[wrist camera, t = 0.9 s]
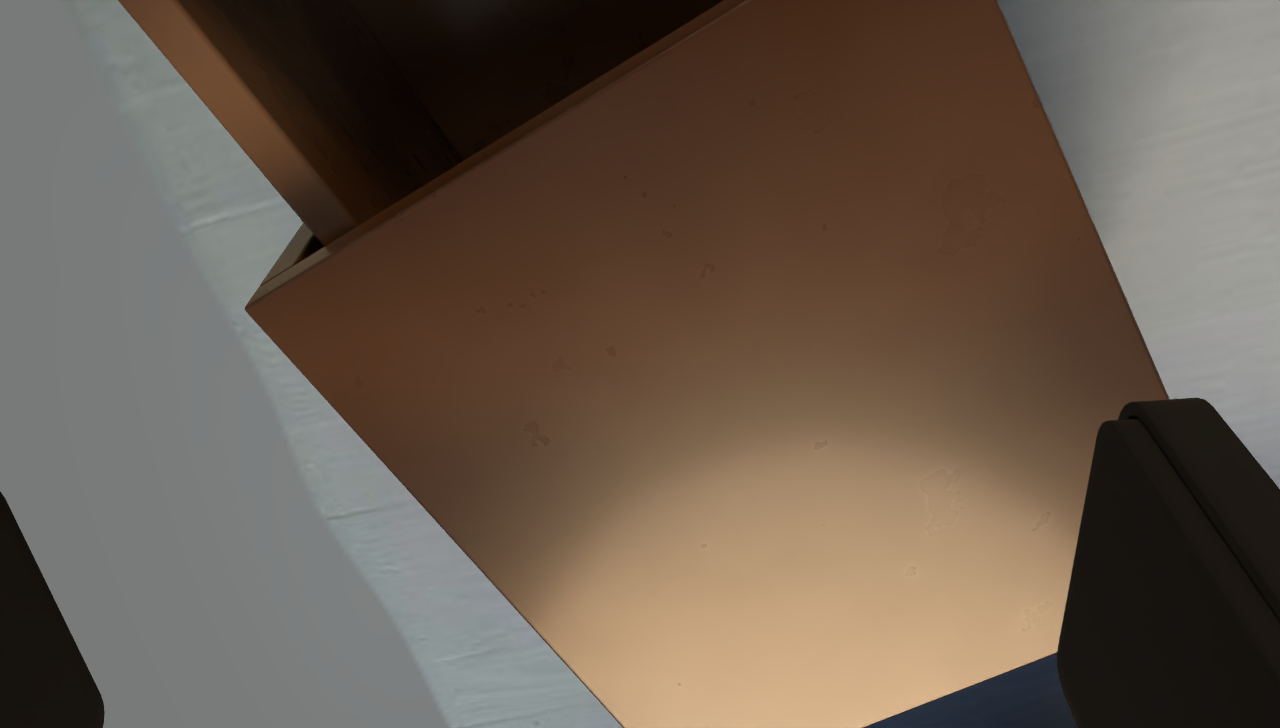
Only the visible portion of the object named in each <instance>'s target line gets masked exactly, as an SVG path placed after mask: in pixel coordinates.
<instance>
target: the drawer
mask: <svg viewBox="0 0 1280 728" xmlns="http://www.w3.org/2000/svg"><path fill="white" fill-rule="evenodd" d="M118 1H119V2H120V3H121V4H122V5H123V7H124V8H125V9H126V10H127V11H128V13H129V14H130V15H131V16H132V17H133V19H134V20H135V21H136V22H137V23H138V25H139V26H140V27H141V28H142V29H143V31H144V32H145V33H146V34H147V35H148V37H149V38H150V39H151V40H152V41H153V43H154V44H155V45H156V46H157V47H158V49H159V50H160V51H161V52H162V53H163V55H164V56H165V57H166V58H167V59H168V60H169V62H170V63H171V64H172V65H173V66H174V68H175V69H176V70H177V71H178V72H179V74H180V75H181V76H182V77H183V78H184V80H185V81H186V82H187V83H188V84H189V86H190V87H191V88H192V89H193V90H194V92H195V93H196V94H197V95H198V96H199V98H200V99H201V100H202V101H203V102H204V104H205V105H206V106H207V107H208V108H209V110H210V111H211V112H212V113H213V114H214V116H215V117H216V118H217V119H218V120H219V122H220V123H221V124H222V125H223V126H224V128H225V129H226V130H227V131H228V132H229V134H230V135H231V136H232V137H233V138H234V140H235V141H236V142H237V143H238V144H239V145H240V147H241V148H242V149H243V150H244V151H245V153H246V154H247V155H248V156H249V157H250V159H251V160H252V161H253V162H254V163H255V165H256V166H257V167H258V168H259V169H260V171H261V172H262V173H263V174H264V175H265V177H266V178H267V179H268V180H269V181H270V183H271V184H272V185H273V186H274V187H275V189H276V190H277V191H278V192H279V193H280V195H281V196H282V197H283V198H284V199H285V201H286V202H287V203H288V204H289V205H290V207H291V208H292V209H293V210H294V211H295V213H296V214H297V215H298V216H299V217H300V219H301V220H302V221H303V222H304V223H305V225H306V226H307V227H308V228H309V229H310V230H311V232H312V233H313V234H314V235H315V236H316V238H317V239H318V240H319V241H320V242H321V244H322V245H323V246H324V247H325V246H327V245H328V244H330V243H332V242H333V241H335V240H336V239H338V238H340V237H341V236H343V235H345V234H346V233H348V232H349V231H351V230H353V229H354V228H356V227H358V226H359V225H361V224H362V223H364V222H366V221H367V220H369V219H370V218H372V217H374V216H375V215H377V214H379V213H380V212H382V211H383V210H385V209H387V208H388V207H390V206H392V205H393V204H395V203H396V202H398V201H400V200H401V199H403V198H405V197H406V196H408V195H409V194H411V193H413V192H414V191H416V190H417V189H419V188H421V187H422V186H424V185H426V184H427V183H429V182H430V181H432V180H434V179H435V178H437V177H439V176H440V175H442V174H443V173H445V172H447V171H448V170H450V169H452V168H453V167H455V166H456V165H458V164H460V163H461V162H463V161H464V160H466V159H468V158H469V157H471V156H473V155H474V154H476V153H477V152H479V151H481V150H482V149H484V148H486V147H487V146H489V145H490V144H492V143H494V142H495V141H497V140H499V139H500V138H502V137H503V136H505V135H507V134H508V133H510V132H511V131H513V130H515V129H516V128H518V127H520V126H521V125H523V124H524V123H526V122H528V121H529V120H531V119H533V118H534V117H536V116H537V115H539V114H541V113H542V112H544V111H546V110H547V109H549V108H550V107H552V106H554V105H555V104H557V103H558V102H560V101H562V100H563V99H565V98H567V97H568V96H570V95H571V94H573V93H575V92H576V91H578V90H580V89H581V88H583V87H584V86H586V85H588V84H589V83H591V82H593V81H594V80H596V79H597V78H599V77H601V76H602V75H604V74H605V73H607V72H609V71H610V70H612V69H614V68H615V67H617V66H618V65H620V64H622V63H623V62H625V61H627V60H628V59H630V58H631V57H633V56H635V55H636V54H638V53H640V52H641V51H643V50H644V49H646V48H648V47H649V46H651V45H652V44H654V43H656V42H657V41H659V40H661V39H662V38H664V37H665V36H667V35H669V34H670V33H672V32H674V31H675V30H677V29H678V28H680V27H682V26H683V25H685V24H686V23H688V22H690V21H691V20H693V19H695V18H696V17H698V16H699V15H701V14H703V13H704V12H706V11H708V10H709V9H711V8H712V7H714V6H716V5H717V4H719V3H721V2H722V1H724V0H118Z"/></svg>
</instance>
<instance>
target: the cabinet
mask: <svg viewBox="0 0 1280 728" xmlns="http://www.w3.org/2000/svg"><path fill="white" fill-rule="evenodd" d="M245 310H246V312H247V313H248V314H249V315H250V316H251V317H252V318H253V320H254V321H255V322H256V323H257V324H258V325H259V326H260V327H261V328H262V330H263V331H264V332H265V333H266V334H267V335H268V336H269V337H270V338H271V339H272V341H273V342H274V343H275V344H276V345H277V346H278V347H279V348H280V349H281V350H282V352H283V353H284V354H285V355H286V356H287V357H288V358H289V359H290V360H291V362H292V363H293V364H294V365H295V366H296V367H297V368H298V369H299V370H300V371H301V373H302V374H303V375H304V376H305V377H306V378H307V379H308V380H309V381H310V382H311V384H312V385H313V386H314V387H315V388H316V389H317V390H318V391H319V392H320V394H321V395H322V396H323V397H324V398H325V399H326V400H327V401H328V402H329V403H330V405H331V406H332V407H333V408H334V409H335V410H336V411H337V412H338V413H339V415H340V416H341V417H342V418H343V419H344V420H345V421H346V422H347V423H348V424H349V426H350V427H351V428H352V429H353V430H354V431H355V432H356V433H357V434H358V435H359V437H360V438H361V439H362V440H363V441H364V442H365V443H366V444H367V445H368V447H369V448H370V449H371V450H372V451H373V452H374V453H375V454H376V455H377V456H378V458H379V459H380V460H381V461H382V462H383V463H384V464H385V465H386V466H387V467H388V469H389V470H390V471H391V472H392V473H393V474H394V475H395V476H396V477H397V479H398V480H399V481H400V482H401V483H402V484H403V485H404V486H405V487H406V488H407V490H408V491H409V492H410V493H411V494H412V495H413V496H414V497H415V498H416V500H417V501H418V502H419V503H420V504H421V505H422V506H423V507H424V508H425V509H426V511H427V512H428V513H429V514H430V515H431V516H432V517H433V518H434V519H435V520H436V522H437V523H438V524H439V525H440V526H441V527H442V528H443V529H444V530H445V532H446V533H447V534H448V535H449V536H450V537H451V538H452V539H453V540H454V541H455V543H456V544H457V545H458V546H459V547H460V548H461V549H462V550H463V551H464V552H465V554H466V555H467V556H468V557H469V558H470V559H471V560H472V561H473V562H474V564H475V565H476V566H477V567H478V568H479V569H480V570H481V571H482V572H483V573H484V575H485V576H486V577H487V578H488V579H489V580H490V581H491V582H492V583H493V585H494V586H495V587H496V588H497V589H498V590H499V591H500V592H501V593H502V594H503V596H504V597H505V598H506V599H507V600H508V601H509V602H510V603H511V604H512V605H513V607H514V608H515V609H516V610H517V611H518V612H519V613H520V614H521V615H522V617H523V618H524V619H525V620H526V621H527V622H528V623H529V624H530V625H531V626H532V628H533V629H534V630H535V631H536V632H537V633H538V634H539V635H540V636H541V637H542V639H543V640H544V641H545V642H546V643H547V644H548V645H549V646H550V647H551V649H552V650H553V651H554V652H555V653H556V654H557V655H558V656H559V657H560V658H561V660H562V661H563V662H564V663H565V664H566V665H567V666H568V667H569V668H570V670H571V671H572V672H573V673H574V674H575V675H576V676H577V677H578V678H579V679H580V681H581V682H582V683H583V684H584V685H585V686H586V687H587V688H588V689H589V690H590V692H591V693H592V694H593V695H594V696H595V697H596V698H597V699H598V700H599V702H600V703H601V704H602V705H603V706H604V707H605V708H606V709H607V710H608V711H609V713H610V714H611V715H612V716H613V717H614V718H615V719H616V720H617V721H618V723H619V724H620V725H621V726H622V727H623V728H864V727H867V726H869V725H872V724H874V723H877V722H879V721H882V720H885V719H887V718H890V717H892V716H895V715H898V714H900V713H903V712H905V711H908V710H911V709H913V708H916V707H918V706H921V705H923V704H926V703H929V702H931V701H934V700H936V699H939V698H942V697H944V696H947V695H949V694H952V693H955V692H957V691H960V690H962V689H965V688H967V687H970V686H973V685H975V684H978V683H980V682H983V681H986V680H988V679H991V678H993V677H996V676H999V675H1001V674H1004V673H1006V672H1009V671H1011V670H1014V669H1017V668H1019V667H1022V666H1024V665H1027V664H1030V663H1032V662H1035V661H1037V660H1040V659H1042V658H1045V657H1048V656H1050V655H1053V654H1055V653H1057V651H1058V644H1059V638H1060V633H1061V627H1062V622H1063V617H1064V611H1065V606H1066V600H1067V595H1068V589H1069V584H1070V579H1071V573H1072V568H1073V562H1074V557H1075V551H1076V546H1077V540H1078V535H1079V530H1080V524H1081V519H1082V513H1083V508H1084V502H1085V497H1086V492H1087V486H1088V481H1089V475H1090V470H1091V464H1092V459H1093V454H1094V448H1095V443H1096V437H1097V434H1098V430H1099V428H1100V426H1101V425H1102V423H1103V422H1105V421H1111V420H1118V418H1119V415H1120V412H1121V410H1122V409H1123V407H1124V406H1125V405H1126V404H1128V403H1130V402H1136V401H1153V400H1170V399H1169V397H1168V394H1167V392H1166V390H1165V387H1164V385H1163V383H1162V381H1161V378H1160V376H1159V374H1158V371H1157V369H1156V367H1155V364H1154V362H1153V360H1152V357H1151V355H1150V353H1149V350H1148V348H1147V346H1146V344H1145V341H1144V339H1143V337H1142V334H1141V332H1140V330H1139V327H1138V325H1137V323H1136V320H1135V318H1134V316H1133V313H1132V311H1131V309H1130V307H1129V304H1128V302H1127V300H1126V297H1125V295H1124V293H1123V290H1122V288H1121V286H1120V283H1119V281H1118V279H1117V276H1116V274H1115V272H1114V270H1113V267H1112V265H1111V263H1110V260H1109V258H1108V256H1107V253H1106V251H1105V249H1104V246H1103V244H1102V242H1101V239H1100V237H1099V235H1098V233H1097V230H1096V228H1095V226H1094V223H1093V221H1092V219H1091V216H1090V214H1089V212H1088V209H1087V207H1086V205H1085V202H1084V200H1083V198H1082V196H1081V193H1080V191H1079V189H1078V186H1077V184H1076V182H1075V179H1074V177H1073V175H1072V172H1071V170H1070V168H1069V165H1068V163H1067V161H1066V159H1065V156H1064V154H1063V152H1062V149H1061V147H1060V145H1059V142H1058V140H1057V138H1056V135H1055V133H1054V131H1053V128H1052V126H1051V124H1050V122H1049V119H1048V117H1047V115H1046V112H1045V110H1044V108H1043V105H1042V103H1041V101H1040V98H1039V96H1038V94H1037V91H1036V89H1035V87H1034V85H1033V82H1032V80H1031V78H1030V75H1029V73H1028V71H1027V68H1026V66H1025V64H1024V61H1023V59H1022V57H1021V54H1020V52H1019V50H1018V48H1017V45H1016V43H1015V41H1014V38H1013V36H1012V34H1011V31H1010V29H1009V27H1008V24H1007V22H1006V20H1005V17H1004V15H1003V13H1002V11H1001V8H1000V6H999V4H998V1H997V0H724V1H722V2H721V3H719V4H717V5H716V6H714V7H712V8H711V9H709V10H708V11H706V12H704V13H703V14H701V15H699V16H698V17H696V18H695V19H693V20H691V21H690V22H688V23H686V24H685V25H683V26H682V27H680V28H678V29H677V30H675V31H674V32H672V33H670V34H669V35H667V36H665V37H664V38H662V39H661V40H659V41H657V42H656V43H654V44H652V45H651V46H649V47H648V48H646V49H644V50H643V51H641V52H640V53H638V54H636V55H635V56H633V57H631V58H630V59H628V60H627V61H625V62H623V63H622V64H620V65H618V66H617V67H615V68H614V69H612V70H610V71H609V72H607V73H605V74H604V75H602V76H601V77H599V78H597V79H596V80H594V81H593V82H591V83H589V84H588V85H586V86H584V87H583V88H581V89H580V90H578V91H576V92H575V93H573V94H571V95H570V96H568V97H567V98H565V99H563V100H562V101H560V102H558V103H557V104H555V105H554V106H552V107H550V108H549V109H547V110H546V111H544V112H542V113H541V114H539V115H537V116H536V117H534V118H533V119H531V120H529V121H528V122H526V123H524V124H523V125H521V126H520V127H518V128H516V129H515V130H513V131H511V132H510V133H508V134H507V135H505V136H503V137H502V138H500V139H499V140H497V141H495V142H494V143H492V144H490V145H489V146H487V147H486V148H484V149H482V150H481V151H479V152H477V153H476V154H474V155H473V156H471V157H469V158H468V159H466V160H464V161H463V162H461V163H460V164H458V165H456V166H455V167H453V168H452V169H450V170H448V171H447V172H445V173H443V174H442V175H440V176H439V177H437V178H435V179H434V180H432V181H430V182H429V183H427V184H426V185H424V186H422V187H421V188H419V189H417V190H416V191H414V192H413V193H411V194H409V195H408V196H406V197H405V198H403V199H401V200H400V201H398V202H396V203H395V204H393V205H392V206H390V207H388V208H387V209H385V210H383V211H382V212H380V213H379V214H377V215H375V216H374V217H372V218H370V219H369V220H367V221H366V222H364V223H362V224H361V225H359V226H358V227H356V228H354V229H353V230H351V231H349V232H348V233H346V234H345V235H343V236H341V237H340V238H338V239H336V240H335V241H333V242H332V243H330V244H328V245H327V246H325V247H324V246H323V245H322V244H321V242H320V241H319V240H318V239H317V238H316V236H315V235H314V234H313V233H312V232H311V230H310V229H309V228H308V227H307V226H306V225H305V223H303V224H302V226H301V227H300V228H299V230H298V231H297V233H296V234H295V236H294V237H293V239H292V240H291V241H290V243H289V244H288V246H287V247H286V249H285V250H284V252H283V253H282V254H281V256H280V257H279V259H278V260H277V262H276V263H275V265H274V266H273V267H272V269H271V270H270V272H269V273H268V275H267V276H266V278H265V279H264V280H263V282H262V283H261V285H260V287H259V288H258V289H257V291H256V292H255V294H254V295H253V296H252V298H251V299H250V301H249V302H248V304H247V305H246V307H245Z"/></svg>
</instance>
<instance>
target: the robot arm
mask: <svg viewBox="0 0 1280 728" xmlns="http://www.w3.org/2000/svg"><path fill="white" fill-rule="evenodd" d="M1057 667H1058V674H1059V680H1060V684H1061V688H1062V691H1063V694H1064V696H1065V699H1066V701H1067V703H1068V706H1069V708H1070V711H1071V713H1072V715H1073V718H1074V720H1075V722H1076V725H1077V727H1078V728H1280V489H1279V488H1278V487H1277V485H1276V484H1275V483H1274V482H1273V480H1272V479H1271V478H1270V477H1269V475H1268V474H1267V473H1266V472H1265V470H1264V469H1263V468H1262V467H1261V466H1260V464H1259V463H1258V462H1257V461H1256V459H1255V458H1254V457H1253V456H1252V454H1251V453H1250V452H1249V451H1248V449H1247V448H1246V447H1245V446H1244V444H1243V443H1242V442H1241V441H1240V439H1239V438H1238V437H1237V436H1236V435H1235V433H1234V432H1233V431H1232V430H1231V428H1230V427H1229V426H1228V425H1227V423H1226V422H1225V421H1224V420H1223V418H1222V417H1221V416H1220V415H1219V413H1218V412H1217V411H1216V410H1215V409H1214V407H1213V406H1212V405H1211V404H1209V403H1208V402H1207V401H1206V400H1204V399H1200V398H1187V399H1170V400H1153V401H1136V402H1130V403H1128V404H1126V405H1125V406H1124V407H1123V409H1122V410H1121V412H1120V415H1119V418H1118V420H1111V421H1105V422H1103V423H1102V425H1101V426H1100V428H1099V430H1098V434H1097V437H1096V443H1095V448H1094V454H1093V459H1092V464H1091V470H1090V475H1089V481H1088V486H1087V492H1086V497H1085V502H1084V508H1083V513H1082V519H1081V524H1080V530H1079V535H1078V540H1077V546H1076V551H1075V557H1074V562H1073V568H1072V573H1071V579H1070V584H1069V589H1068V595H1067V600H1066V606H1065V611H1064V617H1063V622H1062V627H1061V633H1060V638H1059V644H1058V651H1057ZM103 723H104V704H103V700H102V697H101V694H100V692H99V690H98V688H97V686H96V684H95V682H94V680H93V678H92V676H91V674H90V672H89V670H88V668H87V665H86V664H85V662H84V659H83V657H82V655H81V653H80V652H79V649H78V647H77V645H76V643H75V641H74V639H73V637H72V635H71V633H70V631H69V629H68V626H67V624H66V622H65V620H64V618H63V616H62V614H61V612H60V610H59V608H58V606H57V604H56V602H55V600H54V598H53V596H52V594H51V592H50V590H49V587H48V585H47V583H46V581H45V579H44V577H43V575H42V573H41V571H40V569H39V567H38V565H37V563H36V561H35V559H34V557H33V555H32V553H31V551H30V549H29V546H28V544H27V542H26V540H25V539H24V536H23V534H22V532H21V530H20V528H19V526H18V524H17V522H16V520H15V518H14V516H13V514H12V512H11V510H10V507H9V505H8V503H7V501H6V499H5V498H4V496H3V495H2V493H1V492H0V728H103Z"/></svg>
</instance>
